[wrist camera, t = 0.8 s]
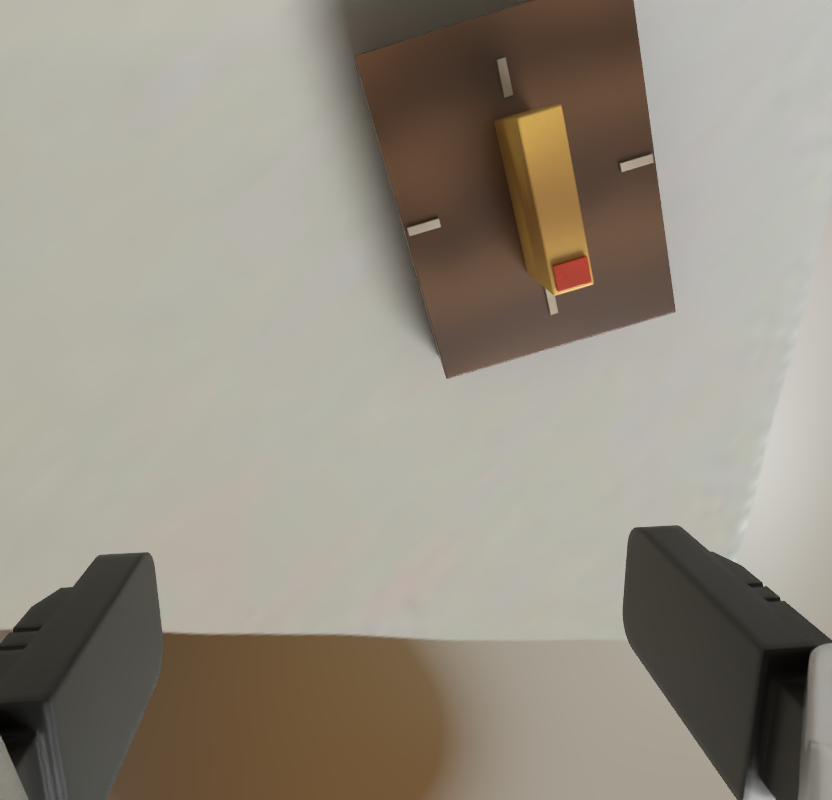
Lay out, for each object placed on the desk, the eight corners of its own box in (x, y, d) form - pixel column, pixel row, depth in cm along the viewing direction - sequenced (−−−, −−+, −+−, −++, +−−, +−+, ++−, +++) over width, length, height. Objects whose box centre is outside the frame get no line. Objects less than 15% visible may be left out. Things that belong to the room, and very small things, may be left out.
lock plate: (355, 63, 28) (354, 55, 25) (603, -15, 28) (631, -33, 25) (440, 359, 33) (447, 380, 31) (650, 297, 33) (677, 313, 30)
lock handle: (493, 120, 27) (518, 117, 22) (531, 108, 27) (564, 103, 22) (527, 273, 29) (555, 298, 25) (562, 263, 29) (596, 286, 25)
